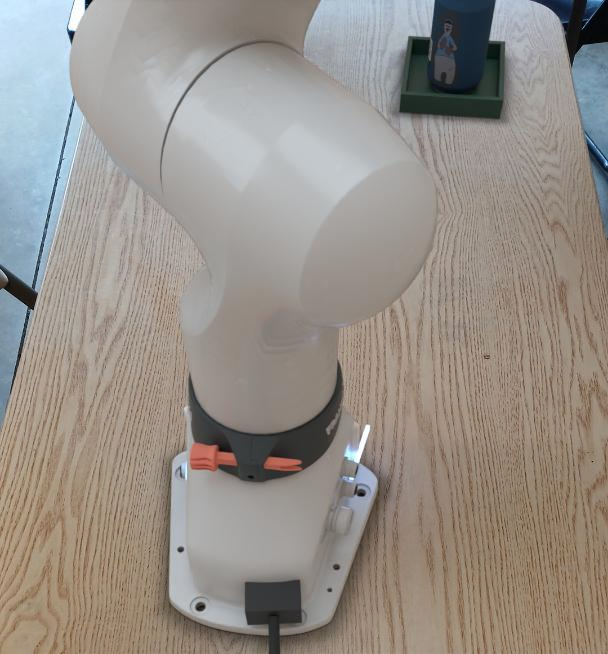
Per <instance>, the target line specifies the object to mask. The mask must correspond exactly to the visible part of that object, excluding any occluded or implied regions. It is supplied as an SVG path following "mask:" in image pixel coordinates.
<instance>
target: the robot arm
mask: <svg viewBox="0 0 608 654" xmlns="http://www.w3.org/2000/svg"><path fill="white" fill-rule="evenodd" d="M321 1H322V0H92V1H91V2H90V4H89V5H88V6H87V8H86V9H85V10H84V12H83V14H82V16H81V18H80V20H79V22H78V24H77V26H76V29H75V32H74V34H73V38H72V41H71V46H70V52H69V61H68V62H69V65H68V70H69V82H70V88H71V91H72V94H73V97H74V101H75V103H76V104H77V107H78V109H79V111H80V112H81V114H82V116H83V117H84V119H85V121H86V122H87V124H88V126H89V128H90V129H91V130H92V132H93V134H94V136H95V137H96V139H97V140H98V141H99V143H100V144H101V147H103V149H104V150H105V152H106V153H107V155H108V157H109V158H110V159H111V161H112V162H113V163H114V165H115V166H116V167H117V168H119V170H121V172H123V174H125V175H126V176H127V177H128V178H129V179H130V180H132V181H133V182H134V183H135V184H136V185H137V186H138V187H140V189H142V190H143V191H144V192H145V193H146V194H147V195H148V196H149V197H150V198H151V199H152V200H154V201H155V202H156V203H157V204H158V205H159V206H160V207H162V209H164V210H165V211H166V212H167V213H168V214H169V215H170V216H171V217H172V218H173V219H174V220H175V222H176V223H178V225H179V226H180V227H181V228H182V229H183V230H184V231H185V232H186V233H187V235H188V236H189V238H190V239H191V241H192V243H193V244H194V246H195V247H196V248H197V250H198V252H199V254H200V256H201V257H202V259H203V261H204V264H203V265H202V266H201V267H200V268H199V269H198V270H197V272H196V273H195V275H193V277H192V278H191V280H190V281H189V282H188V284H187V285H186V287H185V289H184V291H183V292H182V295H181V298H180V301H179V306H178V322H179V327H180V332H181V335H182V336H181V337H182V341H183V346H184V350H185V356H186V360H187V365H188V369H189V372H188V377H187V384H188V386H187V405H186V406H184V408H183V413H184V417H185V421H186V450H184V451H182V452H180V453H179V454H177V455H176V456H175V457H174V458H173V460H172V462H171V481H170V483H171V484H170V485H171V486H170V487H171V488H170V521H169V522H170V523H169V524H170V525H169V527H170V528H169V563H168V564H169V565H168V597H169V598H168V599H169V603H170V604H171V606H172V607H173V608H174V609H175V610H177V612H179V613H180V614H182V615H183V616H185V617H186V618H188V619H189V620H192V621H194V622H195V623H198V624H201V625H204V626H207V627H209V628H213V629H216V630H221V631H224V632H225V631H226V632H231V633H238V634H243V635H254V636H264V637H265V636H267V637H268V654H281V636H291V635H293V636H294V635H297V634H298V635H299V634H303V633H308V632H311V631H314V630H318V629H319V628H322V627H324V626H326V625H328V624H329V623H330V622H331V621H332V620H333V618H334V616H335V613H336V610H337V607H338V605H339V602H340V599H341V597H342V594H343V591H344V589H345V585H346V584H347V583H346V582H347V581H348V577H349V574H350V571H351V568H352V565H353V563H354V560H355V557H356V554H357V551H358V549H359V546H360V543H361V540H362V537H363V534H364V531H365V529H366V526H367V523H368V521H369V518H370V515H371V511H372V510H373V506H374V503H375V501H376V498H377V495H378V492H379V479H378V478H377V476H376V474H374V472H373V471H371V470H370V469H369V468H368V467H366V466H365V465H364V464H362V463H361V462H360V459H361V456H362V454H363V451H364V448H365V445H366V442H367V438H368V435H369V432H370V427H371V426H370V425H369V424H366V425H365V428H364V431H363V434H362V437H360V435H361V434H360V433H361V432H360V431H361V430H360V428H361V427H360V424H359V422H358V421H357V420H356V418H355V417H354V416H353V415H352V414H351V413H350V412H349V411H348V409H347V408H346V407H345V406H344V398H345V383H344V382H345V381H344V378H343V371H342V366H341V363H340V359H339V358H338V357H339V340H340V329H342V328H345V327H349V326H354V325H356V324H359V323H361V322H365V321H366V320H370V319H372V318H373V317H375V316H377V315H378V314H381V313H382V312H383V311H384V310H386V309H387V308H389V307H390V306H391V305H393V304H394V303H395V302H396V301H398V300H399V298H401V297H402V296H403V294H404V293H405V292H406V291H407V290H408V289H409V288H410V286H411V285H412V284H413V283H414V281H415V280H416V278H417V277H418V276H419V273H420V272H421V270H422V268H423V267H424V265H425V263H426V261H427V259H428V257H429V254H430V251H431V249H432V245H433V242H434V239H435V235H436V229H437V225H438V216H439V215H438V214H439V195H438V187H437V183H436V180H435V178H434V176H433V174H432V172H431V171H430V169H429V168H428V167H427V165H425V163H424V162H423V161H422V160H421V158H420V157H419V156H418V154H417V153H416V152H415V150H414V149H413V148H412V147H411V146H410V145H409V143H408V142H407V141H406V140H405V138H404V137H403V136H402V135H401V134H400V132H398V130H397V129H396V128H395V127H394V126H393V125H392V124H391V122H390V121H389V120H388V119H387V118H386V116H384V115H383V113H382V112H381V111H380V110H379V109H378V108H376V107H375V106H374V105H373V104H371V103H370V102H368V101H366V100H365V99H364V98H362V97H361V96H359V95H358V94H357V93H355V91H352V90H351V89H349V88H348V87H346V86H345V85H344V84H342V82H339V80H337V79H335V78H334V77H333V76H331V75H330V74H328V73H327V72H325V71H324V70H322V69H321V68H320V67H318V65H317V66H316V65H315V64H314V63H313V62H312V61H310V60H308V58H305V53H304V48H305V47H304V45H305V39H306V36H307V33H308V29H309V27H310V24H311V22H312V20H313V17H314V15H315V14H316V11H317V8H318V7H319V5H320V3H321ZM360 438H361V440H360ZM359 494H362V495H364V496H359ZM201 606H202V607H204V609H203V610H202V611H201V610H197V609H198V608H199V607H201Z"/></svg>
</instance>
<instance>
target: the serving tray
mask: <svg viewBox="0 0 608 654" xmlns="http://www.w3.org/2000/svg"><path fill="white" fill-rule="evenodd" d="M430 38H431V36H419V35H418V36H417V35H408V37H407V45H406V52H405V59H404V67H403V74H402V80H401V81H402V82H401V89H400V97H399V98H400V99H399V108H398V109H399V110H398V113H402V114H418V115H430V116H431V115H432V116H433V115H434V116H447V117H465V118H478V119H479V118H480V119H492V120H493V119H494V120H500V119H501V116H502V112H503V111H502V110H503V105H504V98H505V69H506V67H505V65H506V41H505V40H504V41H503V40H489V44H488V50H487V56H486V61H485V67H484V73H483V77H482V79H481V81H480V82H479V83H478V85H477V86H476V87H475V88H474V89H473V90H472V91H471V92H469V93H468V94H465V95H456V94H442V93H439V92H438V91H436V90H435V89H434V88H433V86H432V84H431V82H430V80H429V78H428V75H427V65H428V56H429V47H430Z"/></svg>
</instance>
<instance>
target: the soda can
mask: <svg viewBox="0 0 608 654" xmlns="http://www.w3.org/2000/svg"><path fill="white" fill-rule="evenodd" d="M496 2H497V0H434V3H433V10H432V11H433V13H432V21H431V28H430V37H431V38H430V47H429V56H428V65H427V75H428V78H429V80H430V82H431V84H432V86H433V88H434V89H435V90H436V91H438V92H439V93H442V94H456V95H465V94H468V93H469V92H471V91H472V90H473V89H474V88H475V87H476V86H477V85H478V83H479V82H480V81H481V79H482V77H483V73H484V67H485V61H486V56H487V50H488V44H489V41H490V37H491V32H492V27H493V20H494V13H495V7H496Z"/></svg>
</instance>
